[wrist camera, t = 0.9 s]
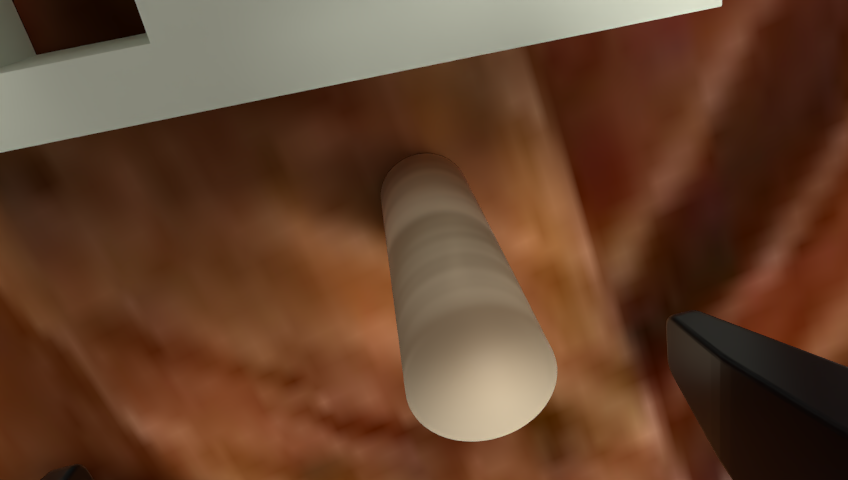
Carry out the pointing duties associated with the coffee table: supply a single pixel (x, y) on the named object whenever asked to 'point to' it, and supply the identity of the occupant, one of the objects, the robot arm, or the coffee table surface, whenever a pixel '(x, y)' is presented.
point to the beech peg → (459, 309)
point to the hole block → (267, 53)
